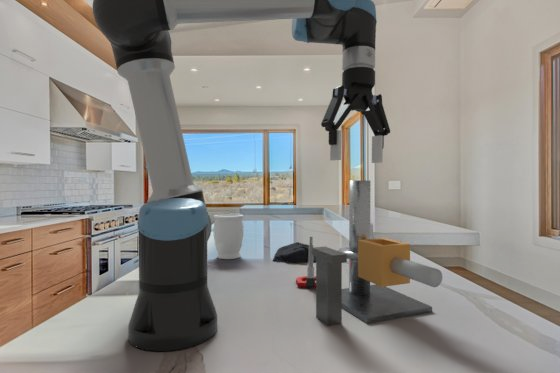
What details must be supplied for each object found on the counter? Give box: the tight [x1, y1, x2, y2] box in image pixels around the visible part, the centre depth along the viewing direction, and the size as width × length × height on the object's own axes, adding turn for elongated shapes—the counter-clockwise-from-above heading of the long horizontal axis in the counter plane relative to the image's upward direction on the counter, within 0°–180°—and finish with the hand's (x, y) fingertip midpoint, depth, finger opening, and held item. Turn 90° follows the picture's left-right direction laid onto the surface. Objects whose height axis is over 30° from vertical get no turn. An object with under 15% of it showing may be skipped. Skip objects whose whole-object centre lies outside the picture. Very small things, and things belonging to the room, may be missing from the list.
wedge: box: [312, 246, 348, 327], centre depth 66 cm, size 3×8×14 cm, turn 22°
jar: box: [213, 213, 244, 260], centre depth 122 cm, size 11×10×15 cm
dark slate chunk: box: [272, 241, 316, 264], centre depth 124 cm, size 15×22×5 cm
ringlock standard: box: [337, 179, 433, 324], centre depth 76 cm, size 16×19×27 cm
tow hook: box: [295, 236, 316, 289], centre depth 91 cm, size 8×13×9 cm
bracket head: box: [358, 237, 443, 288], centre depth 68 cm, size 7×18×8 cm, turn 22°
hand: (357, 161), depth 81 cm, fingers open, 13 cm apart
